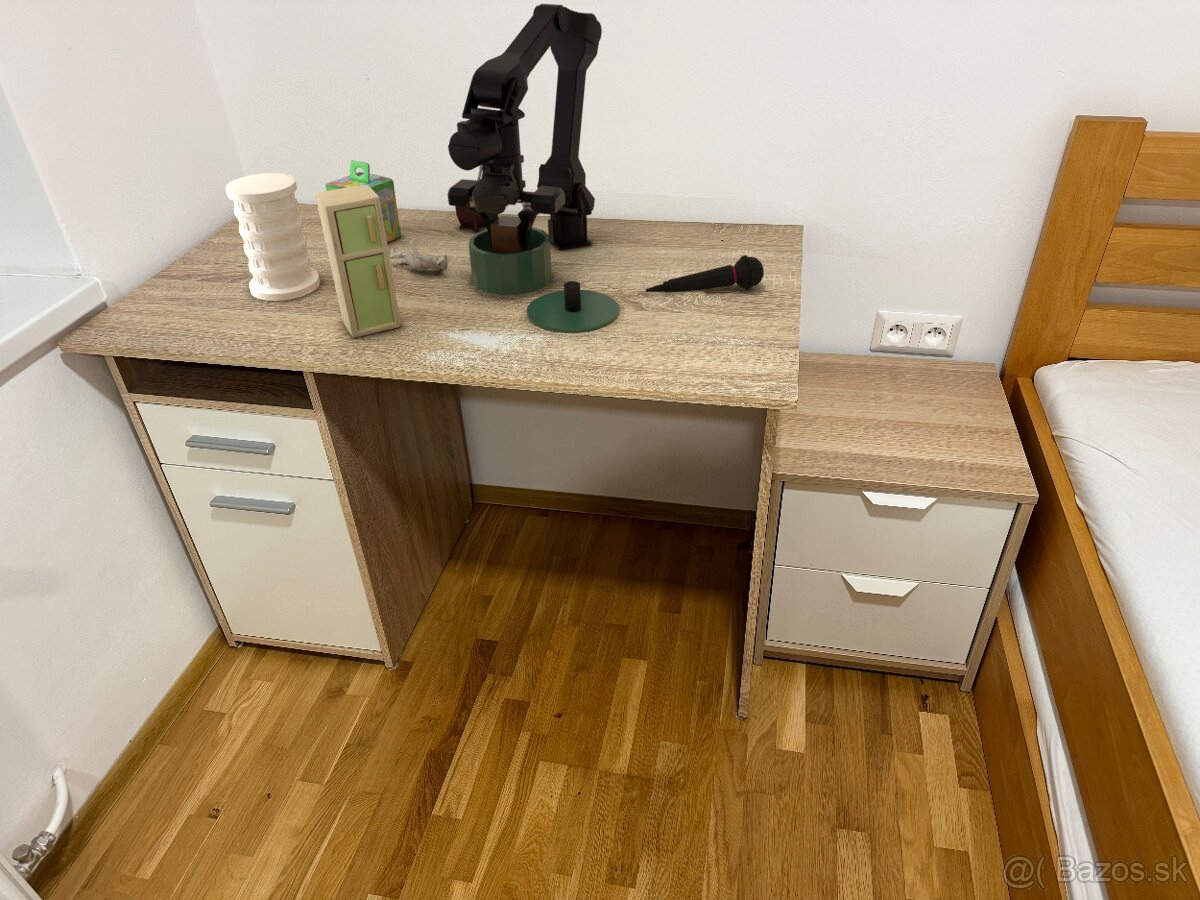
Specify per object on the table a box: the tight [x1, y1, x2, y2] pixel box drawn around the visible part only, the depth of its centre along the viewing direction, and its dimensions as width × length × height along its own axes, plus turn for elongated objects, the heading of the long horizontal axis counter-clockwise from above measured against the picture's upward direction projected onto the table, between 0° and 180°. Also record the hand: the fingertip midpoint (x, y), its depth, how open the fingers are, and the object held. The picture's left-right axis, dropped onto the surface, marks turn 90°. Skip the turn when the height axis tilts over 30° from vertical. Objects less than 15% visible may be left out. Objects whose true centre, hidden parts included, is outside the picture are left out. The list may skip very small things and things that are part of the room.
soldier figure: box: [389, 240, 449, 273], centre depth 153 cm, size 8×5×12 cm
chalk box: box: [325, 160, 402, 244], centre depth 163 cm, size 9×9×15 cm
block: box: [490, 215, 528, 254], centre depth 146 cm, size 5×5×5 cm
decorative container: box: [225, 172, 321, 302], centre depth 145 cm, size 12×12×18 cm
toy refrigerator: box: [315, 185, 402, 339], centre depth 131 cm, size 8×7×21 cm
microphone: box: [645, 254, 765, 293], centre depth 145 cm, size 6×6×20 cm
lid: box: [526, 280, 620, 334], centre depth 137 cm, size 15×15×5 cm
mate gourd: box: [454, 165, 486, 234], centre depth 168 cm, size 8×8×15 cm
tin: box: [468, 226, 553, 296], centre depth 148 cm, size 14×14×8 cm
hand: (510, 246), depth 147 cm, fingers closed on block, 4 cm apart
